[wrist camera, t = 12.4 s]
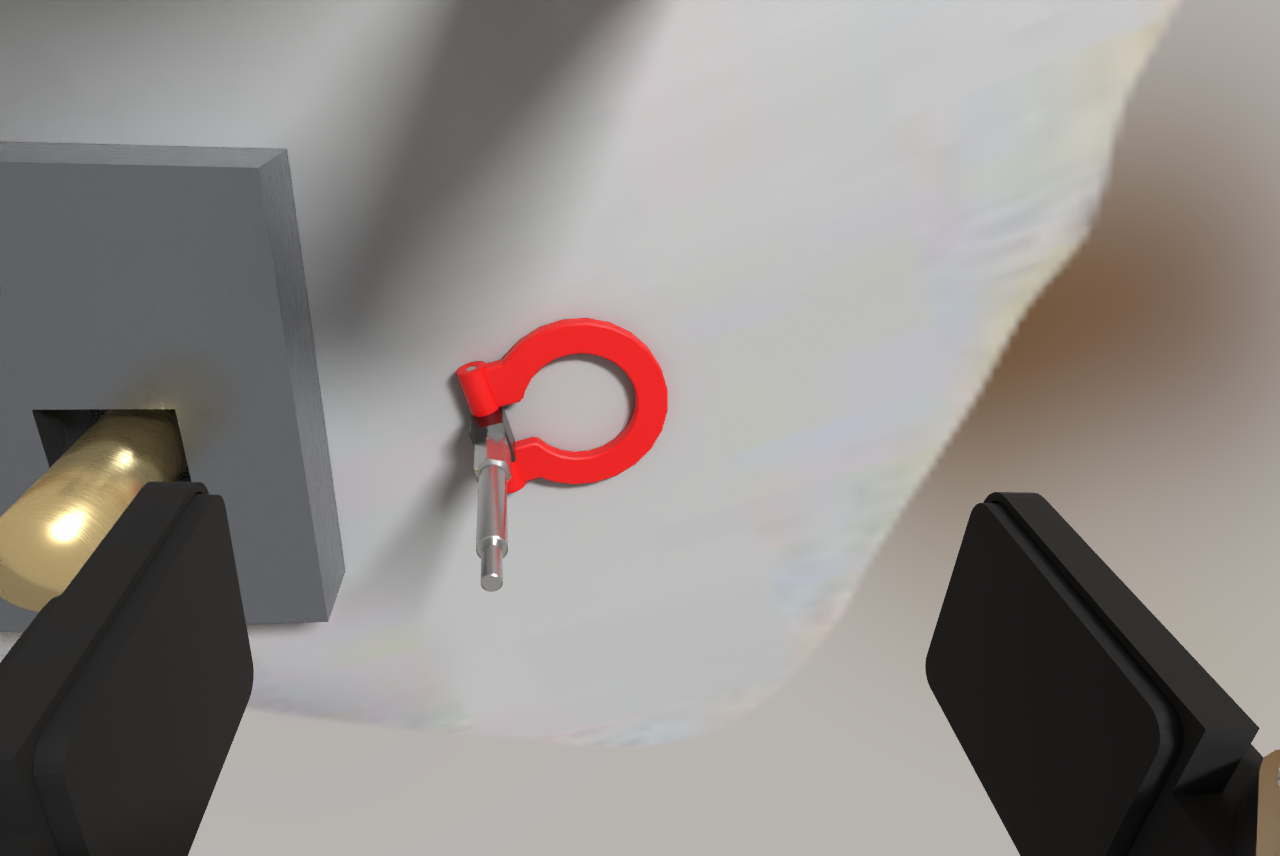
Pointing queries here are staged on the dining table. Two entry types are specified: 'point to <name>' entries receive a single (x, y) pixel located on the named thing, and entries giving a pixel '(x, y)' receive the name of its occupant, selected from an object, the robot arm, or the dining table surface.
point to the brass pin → (83, 501)
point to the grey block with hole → (172, 342)
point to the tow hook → (518, 462)
